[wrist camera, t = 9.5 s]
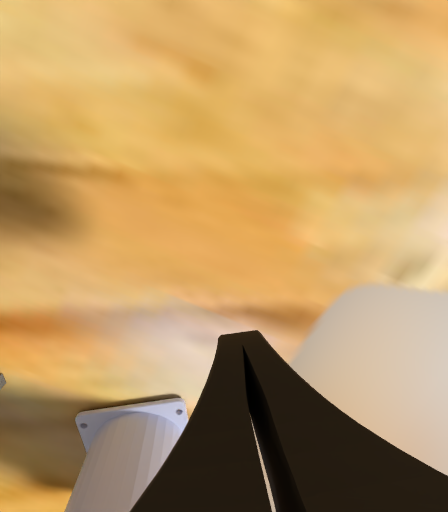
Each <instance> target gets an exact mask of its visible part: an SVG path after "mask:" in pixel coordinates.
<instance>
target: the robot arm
mask: <svg viewBox="0 0 448 512" xmlns="http://www.w3.org/2000/svg"><path fill="white" fill-rule="evenodd" d="M178 409H181V410H178ZM250 416H251V417H250ZM251 419H252V422H251ZM75 422H76V425H77V427H78V430H79V433H80V436H81V439H82V441H83V444H84V447H85V450H86V452H87V455H86V458H85V460H84V463H83V465H82V468H81V470H80V473H79V476H78V478H77V481H76V483H75V486H74V488H73V491H72V494H71V496H70V499H69V501H68V504H67V507H66V509H65V512H272V510H271V506H270V501H269V497H268V493H267V489H266V484H265V480H264V475H263V471H262V467H261V463H260V458H259V454H258V449H257V445H256V440H255V436H254V431H253V427H252V423H253V426H254V430H255V434H256V437H257V441H258V444H259V447H260V452H261V455H262V459H263V462H264V466H265V469H266V473H267V477H268V480H269V483H270V488H271V492H272V496H273V500H274V504H275V509H276V512H448V476H447V475H445V474H443V473H441V472H439V471H437V470H435V469H434V468H432V467H430V466H428V465H426V464H425V463H423V462H421V461H419V460H418V459H416V458H414V457H412V456H411V455H409V454H407V453H405V452H403V451H402V450H400V449H398V448H397V447H395V446H393V445H392V444H390V443H389V442H387V441H386V440H384V439H382V438H381V437H379V436H378V435H376V434H374V433H373V432H372V431H370V430H368V429H367V428H365V427H364V426H362V425H360V424H359V423H357V422H356V421H355V420H353V419H352V418H351V417H349V416H348V415H346V414H345V413H343V412H342V411H341V410H339V409H338V408H337V407H336V406H334V405H333V404H332V403H330V402H329V401H328V400H327V399H326V398H324V397H323V396H322V395H321V394H319V393H318V392H317V391H316V390H315V389H314V388H312V387H311V386H310V385H309V384H308V383H307V382H306V381H305V380H304V379H302V378H301V377H300V376H299V375H298V374H297V373H296V372H295V371H294V370H293V369H292V368H291V367H290V366H289V365H288V364H287V363H286V362H285V361H284V360H283V359H282V358H281V357H280V356H279V354H278V353H277V352H276V351H275V350H274V349H273V348H272V347H271V345H270V344H269V343H268V342H267V341H266V339H265V338H264V337H263V335H262V334H261V333H260V332H259V331H258V330H255V331H247V332H240V333H233V334H225V335H221V336H220V337H219V338H218V345H217V350H216V354H215V358H214V361H213V365H212V367H211V370H210V373H209V376H208V379H207V382H206V384H205V386H204V389H203V391H202V393H201V396H200V398H199V400H198V403H197V405H196V407H195V409H194V411H193V413H192V415H191V417H190V419H189V420H188V415H187V410H186V405H185V401H184V400H183V399H182V398H173V399H166V400H159V401H152V402H145V403H138V404H131V405H124V406H117V407H110V408H103V409H97V410H90V411H83V412H79V413H78V414H77V416H76V418H75ZM84 423H85V424H84Z"/></svg>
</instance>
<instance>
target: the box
mask: <svg viewBox="0 0 448 512" xmlns="http://www.w3.org/2000/svg"><path fill="white" fill-rule="evenodd" d="M5 384H6V381H5V379H4V377H3V374H0V390H1V388H2V387H3V386H4V385H5Z"/></svg>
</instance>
